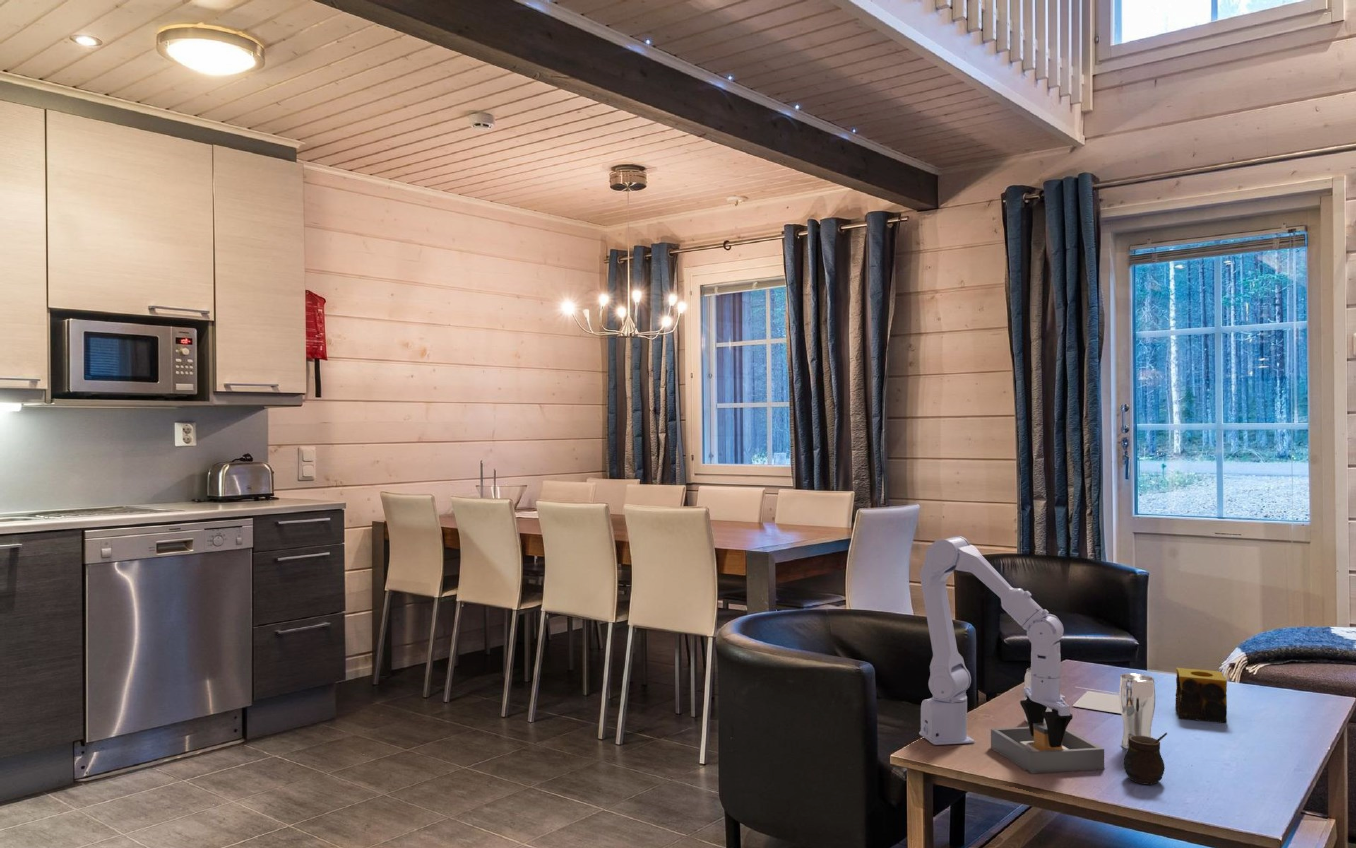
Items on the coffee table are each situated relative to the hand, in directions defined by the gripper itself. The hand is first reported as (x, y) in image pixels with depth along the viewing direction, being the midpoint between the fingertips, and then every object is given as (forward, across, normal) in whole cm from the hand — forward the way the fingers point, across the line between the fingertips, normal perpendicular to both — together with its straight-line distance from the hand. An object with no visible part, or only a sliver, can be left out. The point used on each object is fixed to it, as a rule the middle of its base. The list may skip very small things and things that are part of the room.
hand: (1045, 741), depth 200 cm
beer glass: (+4, +3, -23) cm, 23 cm away
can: (+4, +23, -12) cm, 26 cm away
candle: (+4, +22, -53) cm, 58 cm away
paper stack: (+4, +40, -37) cm, 55 cm away
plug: (+3, 0, 0) cm, 3 cm away
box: (+3, 0, 0) cm, 3 cm away
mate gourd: (+4, -15, -12) cm, 20 cm away
